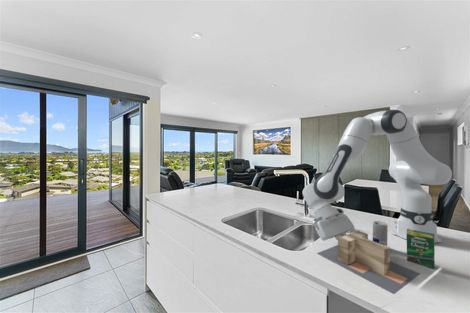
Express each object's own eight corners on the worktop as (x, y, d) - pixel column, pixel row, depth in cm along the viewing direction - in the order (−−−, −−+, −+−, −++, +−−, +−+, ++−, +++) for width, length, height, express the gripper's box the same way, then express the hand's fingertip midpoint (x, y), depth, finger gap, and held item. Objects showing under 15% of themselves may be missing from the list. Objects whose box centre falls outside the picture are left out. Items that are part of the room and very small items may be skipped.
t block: (357, 251, 87) (358, 230, 87) (396, 267, 75) (396, 243, 74) (338, 260, 80) (338, 238, 80) (376, 279, 68) (376, 253, 68)
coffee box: (405, 261, 80) (405, 229, 79) (407, 259, 82) (407, 227, 81) (433, 271, 73) (434, 236, 73) (434, 268, 75) (435, 234, 75)
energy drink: (373, 245, 93) (373, 220, 93) (387, 248, 90) (387, 222, 90) (371, 249, 89) (372, 223, 89) (386, 253, 86) (387, 226, 85)
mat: (344, 243, 95) (344, 242, 95) (420, 275, 71) (420, 273, 71) (316, 254, 86) (316, 253, 86) (393, 295, 61) (393, 294, 61)
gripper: (315, 216, 85) (336, 248, 77) (344, 208, 95) (365, 236, 87) (307, 223, 89) (326, 254, 81) (335, 215, 99) (355, 242, 91)
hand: (347, 245), depth 84 cm, fingers closed, pressing on t block
